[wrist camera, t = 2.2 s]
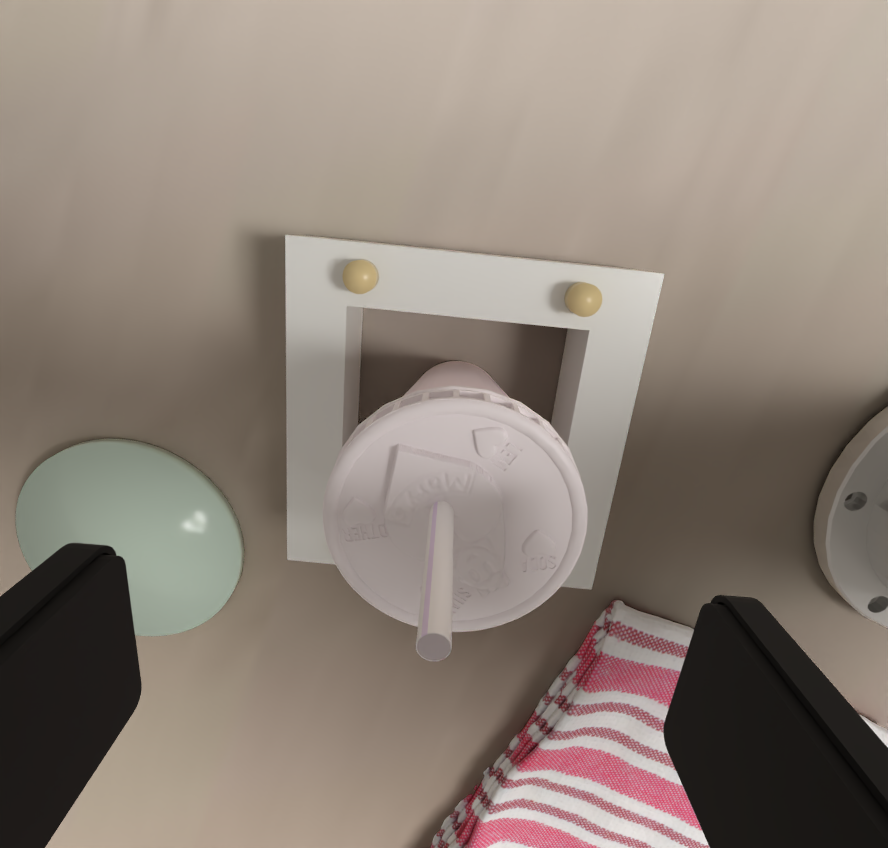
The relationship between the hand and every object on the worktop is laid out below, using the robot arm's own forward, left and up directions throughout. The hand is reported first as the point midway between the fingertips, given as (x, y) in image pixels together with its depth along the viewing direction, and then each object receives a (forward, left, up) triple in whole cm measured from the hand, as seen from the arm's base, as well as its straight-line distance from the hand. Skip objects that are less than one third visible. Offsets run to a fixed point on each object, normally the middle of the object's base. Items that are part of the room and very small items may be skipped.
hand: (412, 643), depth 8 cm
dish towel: (-13, +22, -14) cm, 29 cm away
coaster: (+13, +8, -14) cm, 21 cm away
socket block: (-1, 0, -14) cm, 14 cm away
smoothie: (-1, 0, -14) cm, 14 cm away
